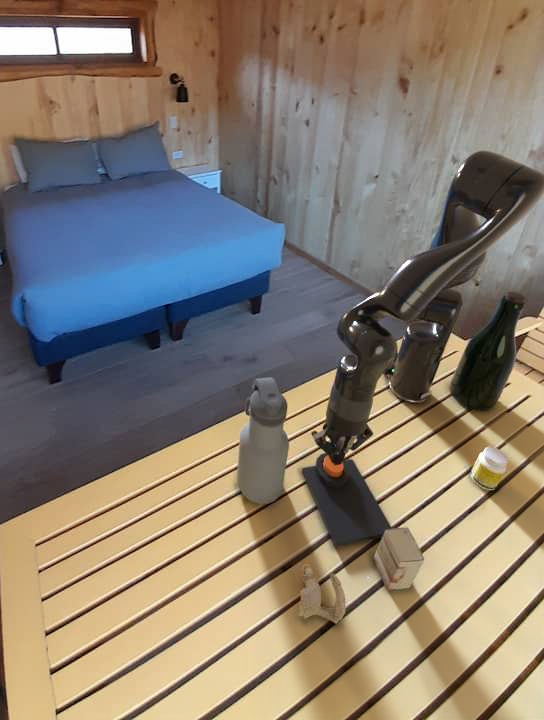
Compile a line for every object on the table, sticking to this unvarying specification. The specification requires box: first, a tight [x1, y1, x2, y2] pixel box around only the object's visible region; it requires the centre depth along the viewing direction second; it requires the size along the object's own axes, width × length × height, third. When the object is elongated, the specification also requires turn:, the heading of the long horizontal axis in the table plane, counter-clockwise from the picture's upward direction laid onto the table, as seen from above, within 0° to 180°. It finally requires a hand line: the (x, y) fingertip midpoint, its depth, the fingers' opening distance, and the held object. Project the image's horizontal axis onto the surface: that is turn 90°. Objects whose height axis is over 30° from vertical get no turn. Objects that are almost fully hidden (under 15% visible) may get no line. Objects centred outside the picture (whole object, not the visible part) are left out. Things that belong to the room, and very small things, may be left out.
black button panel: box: [301, 452, 393, 548], centre depth 83 cm, size 16×12×3 cm
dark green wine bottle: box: [448, 291, 526, 413], centre depth 99 cm, size 10×10×33 cm
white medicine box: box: [373, 526, 426, 591], centre depth 70 cm, size 5×4×10 cm
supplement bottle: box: [470, 446, 509, 491], centre depth 85 cm, size 5×5×8 cm
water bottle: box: [236, 377, 290, 505], centre depth 81 cm, size 10×10×28 cm
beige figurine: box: [297, 563, 347, 624], centre depth 67 cm, size 9×6×10 cm
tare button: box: [323, 455, 344, 478], centre depth 86 cm, size 4×4×2 cm
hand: (335, 461), depth 85 cm, fingers closed
